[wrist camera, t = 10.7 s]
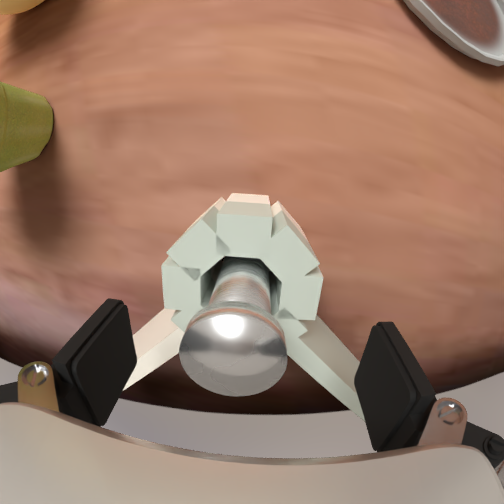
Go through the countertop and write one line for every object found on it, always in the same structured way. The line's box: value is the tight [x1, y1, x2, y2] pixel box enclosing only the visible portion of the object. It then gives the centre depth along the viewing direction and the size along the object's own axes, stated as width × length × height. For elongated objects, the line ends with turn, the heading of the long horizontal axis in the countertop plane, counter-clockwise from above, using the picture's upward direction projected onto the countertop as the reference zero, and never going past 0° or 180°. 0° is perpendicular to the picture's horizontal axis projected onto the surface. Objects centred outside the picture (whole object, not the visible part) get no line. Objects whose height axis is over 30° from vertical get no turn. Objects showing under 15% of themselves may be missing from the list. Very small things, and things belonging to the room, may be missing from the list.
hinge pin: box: [179, 256, 287, 396], centre depth 15 cm, size 4×4×12 cm
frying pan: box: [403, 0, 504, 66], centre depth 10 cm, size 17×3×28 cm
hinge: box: [123, 193, 365, 421], centre depth 19 cm, size 24×16×7 cm
